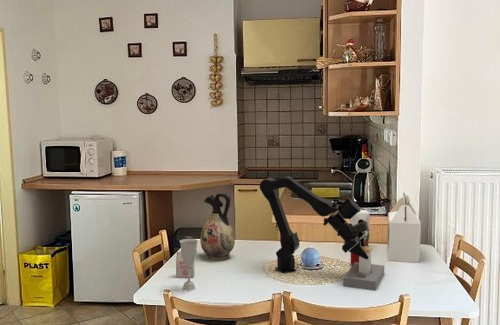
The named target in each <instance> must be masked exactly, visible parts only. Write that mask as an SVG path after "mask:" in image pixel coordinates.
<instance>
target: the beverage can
mask: <svg viewBox="0 0 500 325" xmlns="http://www.w3.org/2000/svg"><path fill="white" fill-rule="evenodd" d="M361 238H363V237H361ZM364 243H365V245H366V246H367V241H366V239H365V238H364ZM355 262H357V263H359V256H358V255H356V254H353V253H351V252H350V265H351V267H352V266H353V264H354V263H355Z"/></svg>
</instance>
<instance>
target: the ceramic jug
mask: <svg viewBox="0 0 500 325" xmlns="http://www.w3.org/2000/svg"><path fill="white" fill-rule="evenodd" d="M220 198H224V200H225V207H224V210H223V211H222V210H221V208H223V206H224V204H223V202H222V201H221V199H220ZM203 203H206V204H207V205H210V206H211V207H212V213H211V214H210V216H209V217H208V219H207V220H206V222H205V223H204V226H203V227H202V230H201V233H200V239H199V242H200V247H201V250H202V251H203V252H204V253H205V255H207V259H209V260H213V261H218V260H219V261H220V260H226V259H229V255H230V253H231V252H232V251H233V249H234V247H235V240H236V239H235V234H234V230H233V227H232V226H231V224H230V222H229V218H228V212H229V208H230V206H231V197H230V195H229V194H228V193H227V192H224V191H223V192H221V191H220V192H218V193H216V195H214V194H213V193H212V194H211V195H208V196H207V197H206V198H205V199H204V200H203Z"/></svg>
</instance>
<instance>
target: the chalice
mask: <svg viewBox="0 0 500 325" xmlns="http://www.w3.org/2000/svg"><path fill="white" fill-rule="evenodd" d="M198 242H199V240H198V239H195V238H184V239H181V240H179V243H180V252H181V256H182V259H183V261H184V263H185V265H186V266H188V269H187V272H188V275H187V277H188V278H187V280H186V281H185V282H184V283H183V285H182V286H183V287H182V291H186V292H189V291H190V292H192V291H194V290H196V288H197V287H196V285H195V283H194V282H193V281H191V278H190V277H191V275H190V272H191V270H190V266H191V265H193V262H194V263H195V260H196V257H197V252H198V251H197V247H198V245H197V244H198Z"/></svg>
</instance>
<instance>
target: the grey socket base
mask: <svg viewBox="0 0 500 325" xmlns="http://www.w3.org/2000/svg"><path fill="white" fill-rule="evenodd" d="M384 275H385V265H382V264H375V263H373V264H372V263H371V272H370V274H367V273H359V263H357V262H355V263H354V264H353V266H352V265H351V267H350V268H349V270H348V271H347V273H346V274H345V275H344V276H343V281H342V282H343V287H345V288H354V289H355V288H356V289H361V290H368V291H376V290H377V288H378V286H379V285H380V282H381V280H382V279H383V277H384Z"/></svg>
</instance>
